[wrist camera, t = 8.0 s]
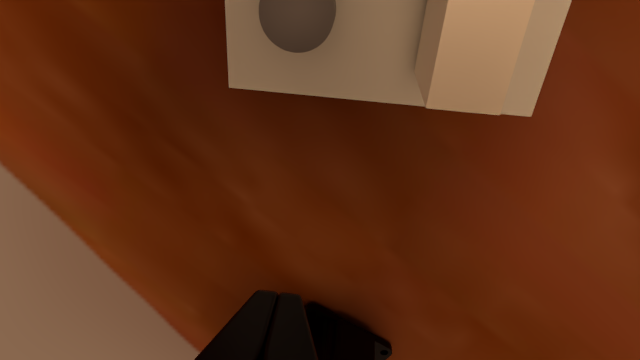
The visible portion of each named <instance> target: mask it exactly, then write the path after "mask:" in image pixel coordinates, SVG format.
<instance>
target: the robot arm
mask: <svg viewBox="0 0 640 360" xmlns="http://www.w3.org/2000/svg"><path fill="white" fill-rule="evenodd" d="M311 311H314V312H311ZM391 354H392V347H391V345H390V344H389V343H387V342H385V341H383V340H382V339H380V338H378V337H376V336H374V335H372V334H371V333H369V332H367V331H365V330H363V329H361V328H360V327H358V326H356V325H354V324H352V323H350V322H349V321H347V320H345V319H343V318H341V317H339V316H338V315H336V314H334V313H332V312H330V311H328V310H327V309H325V308H323V307H321V306H319V305H317V304H313V303H311V304H308V305H306V306H305V307H304V305H303V301H302V298H301V296H300V295H298V294H291V293H280V294H279V295H278V293H277V292H274V291H266V290H258V291H256V292H255V293H254V294H253V295H252V296H251V297H250V298H249V299H248V301H247V302H246V303H245V304H244V305H243V306H242V307H241V308H240V309H239V311H238V312H237V313H236V314H235V315H234V316H233V317H232V318H231V319H230V321H229V322H228V323H227V324H226V325H225V326H224V327H223V328H222V329H221V331H220V332H219V333H218V334H217V335H216V336H215V337H214V338H213V339H212V341H211V342H210V343H209V344H208V345H207V346H206V347H205V348H204V349H203V351H202V352H201V353H200V354H199V355H198V356H197V357H196V358H195V360H386V359H387V358H388V357H390V356H391Z"/></svg>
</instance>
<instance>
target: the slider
mask: <svg viewBox="0 0 640 360" xmlns="http://www.w3.org/2000/svg"><path fill="white" fill-rule="evenodd" d="M534 2H535V0H427V5H426V10H425V15H424V21H423V26H422V32H421V37H420V43H419V48H418V53H417V59H416V64H415V70H414V73H415V76H416V79H417V82H418V85H419V88H420V92H421V95H422V98H423V101H424V104H425V107H426V108H428V109H439V110H449V111H459V112H470V113H480V114H490V115H500V113H501V110H502V107H503V103H504V100H505V97H506V94H507V90H508V87H509V84H510V81H511V77H512V74H513V71H514V68H515V64H516V61H517V58H518V55H519V51H520V48H521V45H522V41H523V38H524V35H525V32H526V28H527V25H528V22H529V19H530V15H531V12H532V9H533V6H534Z"/></svg>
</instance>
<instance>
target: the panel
mask: <svg viewBox="0 0 640 360" xmlns="http://www.w3.org/2000/svg"><path fill="white" fill-rule="evenodd" d="M571 1H572V0H535V2H534V6H533V9H532V12H531V15H530V19H529V22H528V25H527V28H526V32H525V35H524V38H523V41H522V45H521V48H520V51H519V55H518V58H517V61H516V64H515V68H514V71H513V74H512V77H511V81H510V84H509V87H508V90H507V94H506V97H505V100H504V103H503V107H502V110H501V113H500V114H507V115H518V116H528V117H531V116H532V113H533V110H534V107H535V104H536V101H537V99H538V96H539V93H540V90H541V87H542V84H543V81H544V78H545V76H546V73H547V70H548V67H549V64H550V61H551V58H552V55H553V53H554V50H555V47H556V44H557V41H558V38H559V35H560V32H561V30H562V27H563V24H564V21H565V18H566V15H567V12H568V9H569V7H570V4H571ZM426 5H427V0H225V15H226V37H227V59H228V81H229V88H238V89H248V90H259V91H269V92H279V93H290V94H300V95H310V96H321V97H331V98H342V99H352V100H362V101H373V102H383V103H393V104H404V105H414V106H425V104H424V101H423V98H422V95H421V92H420V88H419V85H418V82H417V79H416V76H415V73H414V70H415V64H416V59H417V53H418V48H419V43H420V37H421V32H422V26H423V21H424V15H425V10H426Z"/></svg>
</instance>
